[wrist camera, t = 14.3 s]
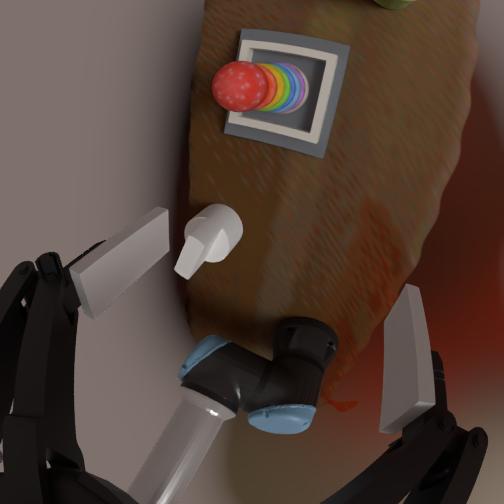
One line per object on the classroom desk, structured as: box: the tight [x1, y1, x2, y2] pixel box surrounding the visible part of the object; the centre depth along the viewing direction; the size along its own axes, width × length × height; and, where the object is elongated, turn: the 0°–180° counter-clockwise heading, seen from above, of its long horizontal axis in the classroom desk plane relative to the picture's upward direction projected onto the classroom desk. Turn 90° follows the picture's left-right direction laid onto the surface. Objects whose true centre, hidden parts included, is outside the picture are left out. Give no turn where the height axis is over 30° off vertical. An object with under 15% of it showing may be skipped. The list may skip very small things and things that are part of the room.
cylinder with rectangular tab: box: [175, 204, 243, 279], centre depth 47 cm, size 9×9×12 cm
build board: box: [224, 29, 350, 159], centre depth 34 cm, size 18×16×4 cm
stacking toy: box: [212, 61, 309, 114], centre depth 26 cm, size 8×8×19 cm
